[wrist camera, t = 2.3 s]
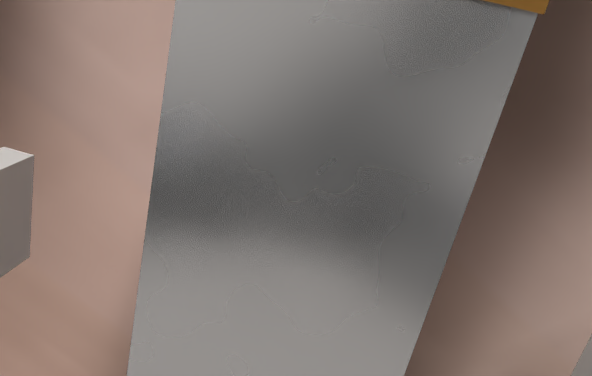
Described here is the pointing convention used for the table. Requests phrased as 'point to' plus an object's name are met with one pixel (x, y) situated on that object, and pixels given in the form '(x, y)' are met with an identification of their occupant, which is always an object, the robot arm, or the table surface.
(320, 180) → the slip tube
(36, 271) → the table surface
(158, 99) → the table surface
